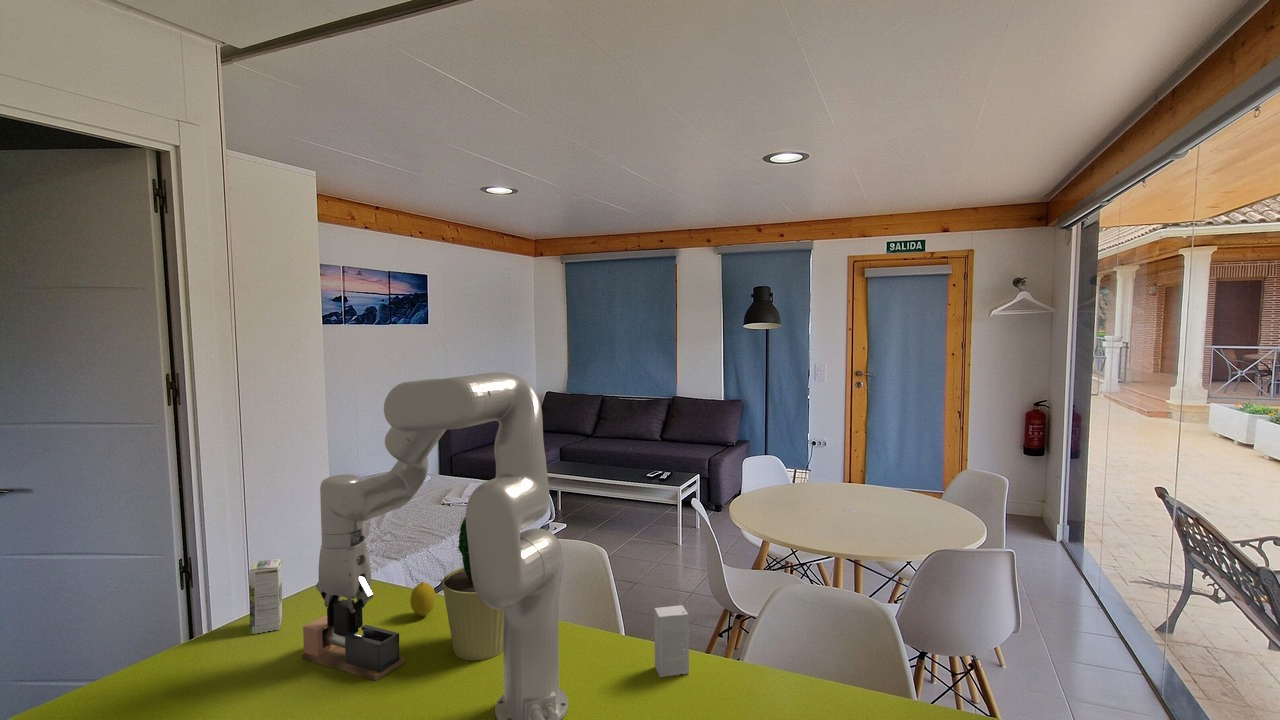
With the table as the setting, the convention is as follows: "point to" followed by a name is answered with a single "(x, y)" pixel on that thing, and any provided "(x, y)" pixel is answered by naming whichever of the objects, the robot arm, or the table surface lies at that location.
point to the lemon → (423, 599)
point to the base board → (338, 661)
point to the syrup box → (265, 596)
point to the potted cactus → (471, 612)
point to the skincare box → (671, 640)
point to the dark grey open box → (372, 649)
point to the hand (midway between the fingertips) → (345, 625)
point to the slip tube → (338, 626)
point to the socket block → (316, 637)
